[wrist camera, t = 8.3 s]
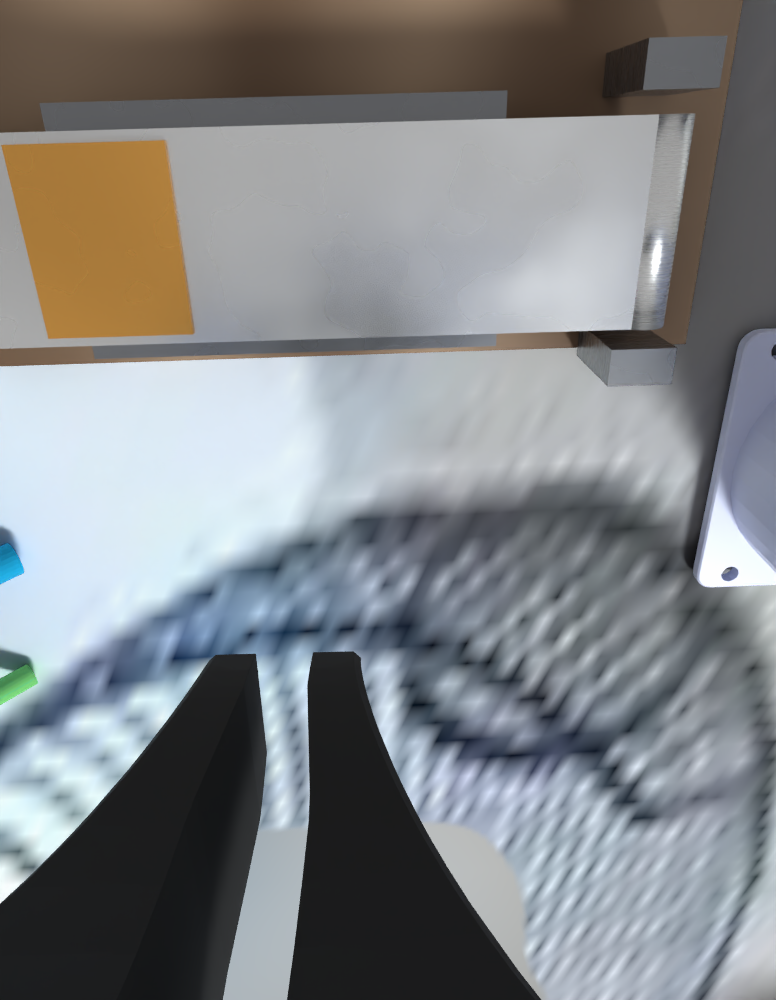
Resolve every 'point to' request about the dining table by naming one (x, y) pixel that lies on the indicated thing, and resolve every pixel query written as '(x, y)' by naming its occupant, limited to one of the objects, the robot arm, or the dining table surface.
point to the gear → (3, 567)
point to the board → (366, 81)
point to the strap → (339, 230)
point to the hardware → (627, 74)
